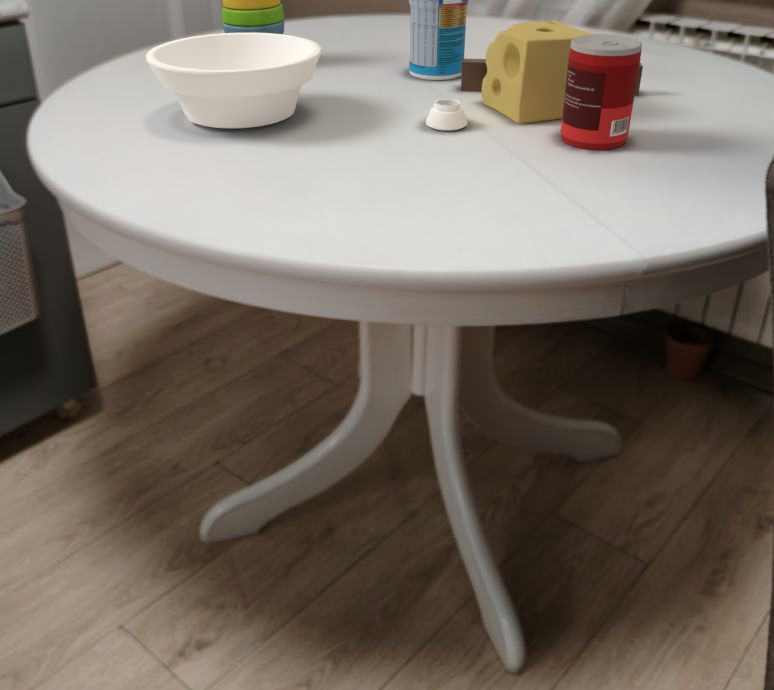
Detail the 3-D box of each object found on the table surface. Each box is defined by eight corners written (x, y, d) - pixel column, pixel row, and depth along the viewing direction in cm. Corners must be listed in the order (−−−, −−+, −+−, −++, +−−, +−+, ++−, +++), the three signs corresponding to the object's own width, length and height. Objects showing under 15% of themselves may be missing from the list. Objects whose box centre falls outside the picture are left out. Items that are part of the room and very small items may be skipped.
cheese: (480, 104, 106) (484, 24, 101) (551, 95, 109) (559, 17, 104) (517, 126, 98) (525, 40, 93) (593, 117, 101) (605, 33, 96)
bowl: (346, 100, 108) (344, 36, 104) (288, 151, 91) (283, 77, 86) (203, 90, 113) (195, 28, 108) (123, 136, 96) (110, 65, 91)
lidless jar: (474, 130, 97) (456, 118, 101) (475, 105, 95) (457, 94, 99) (436, 135, 96) (419, 123, 99) (436, 110, 94) (420, 99, 98)
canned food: (627, 132, 96) (642, 35, 90) (626, 154, 90) (643, 51, 84) (562, 127, 98) (572, 32, 92) (556, 148, 91) (568, 47, 85)
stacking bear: (267, 74, 120) (256, -59, 110) (212, 67, 124) (196, -62, 114) (304, 59, 128) (297, -66, 118) (251, 53, 132) (240, -69, 122)
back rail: (636, 92, 111) (640, 62, 109) (638, 96, 109) (643, 66, 107) (461, 87, 113) (462, 58, 111) (460, 91, 112) (462, 61, 109)
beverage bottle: (402, 80, 117) (403, -75, 106) (414, 66, 124) (416, -81, 113) (459, 83, 115) (466, -74, 104) (469, 69, 122) (476, -80, 111)
